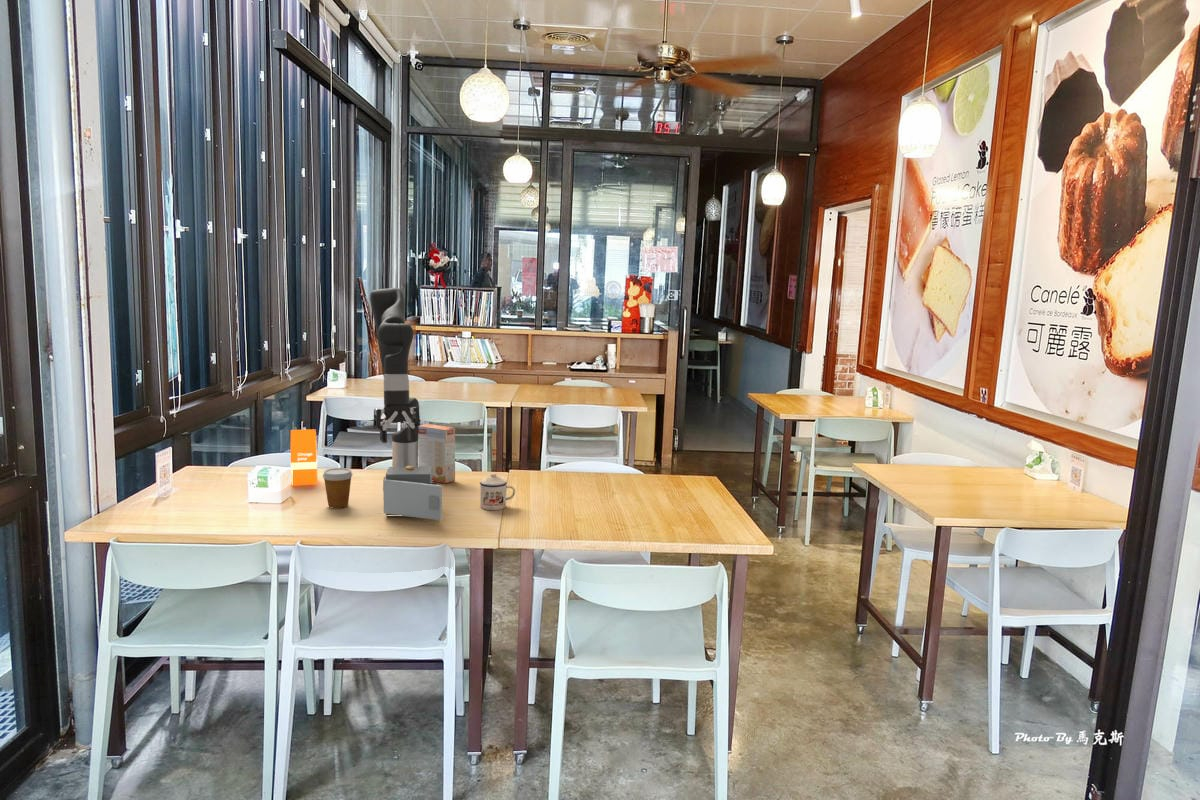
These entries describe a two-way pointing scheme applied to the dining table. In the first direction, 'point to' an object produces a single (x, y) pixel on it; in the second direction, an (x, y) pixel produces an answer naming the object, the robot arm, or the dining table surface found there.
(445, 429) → the cracker box
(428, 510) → the side door
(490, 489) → the teacup with lid
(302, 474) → the orange juice
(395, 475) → the grey small cabinet
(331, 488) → the disposable coffee cup
